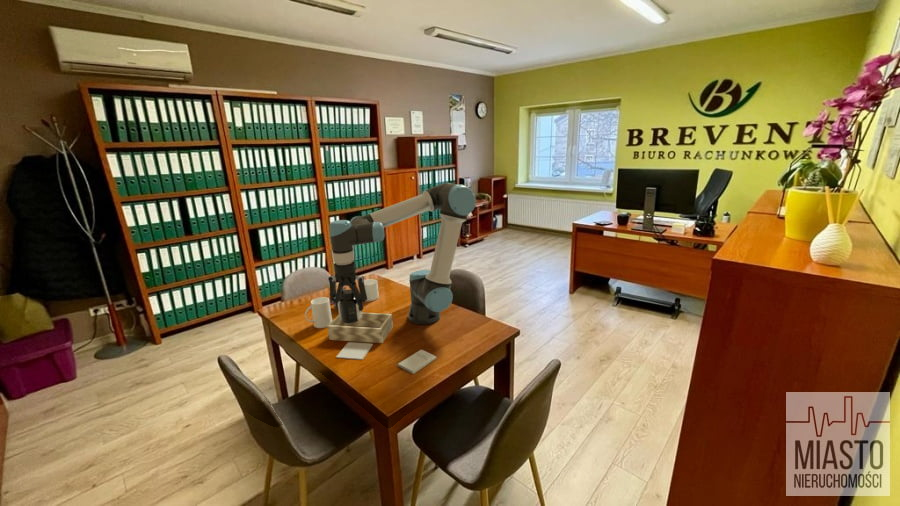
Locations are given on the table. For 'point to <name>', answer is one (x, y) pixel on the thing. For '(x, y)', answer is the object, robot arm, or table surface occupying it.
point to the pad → (354, 350)
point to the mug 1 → (320, 312)
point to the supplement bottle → (348, 307)
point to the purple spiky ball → (333, 301)
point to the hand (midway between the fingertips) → (350, 317)
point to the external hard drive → (417, 361)
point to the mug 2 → (371, 289)
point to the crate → (362, 328)
